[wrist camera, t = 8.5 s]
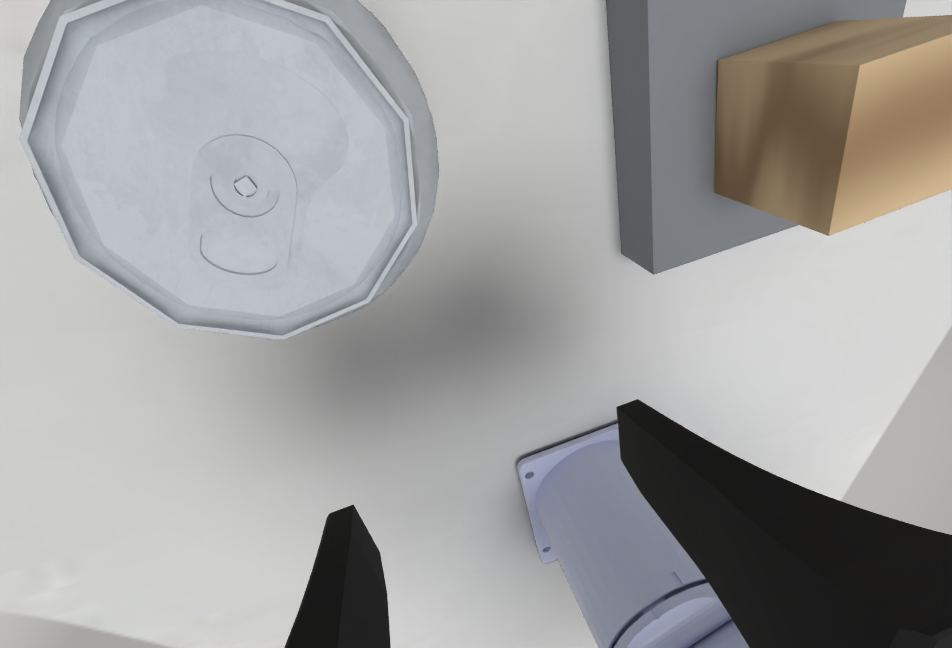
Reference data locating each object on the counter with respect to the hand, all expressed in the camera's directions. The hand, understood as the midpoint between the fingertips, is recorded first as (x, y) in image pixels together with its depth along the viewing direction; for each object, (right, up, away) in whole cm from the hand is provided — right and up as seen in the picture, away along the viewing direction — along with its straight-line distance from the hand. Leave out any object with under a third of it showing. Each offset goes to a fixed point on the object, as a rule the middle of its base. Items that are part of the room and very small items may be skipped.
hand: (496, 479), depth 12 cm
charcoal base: (+10, +13, +7) cm, 18 cm away
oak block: (+10, +12, +5) cm, 16 cm away
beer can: (-6, +11, +3) cm, 13 cm away
